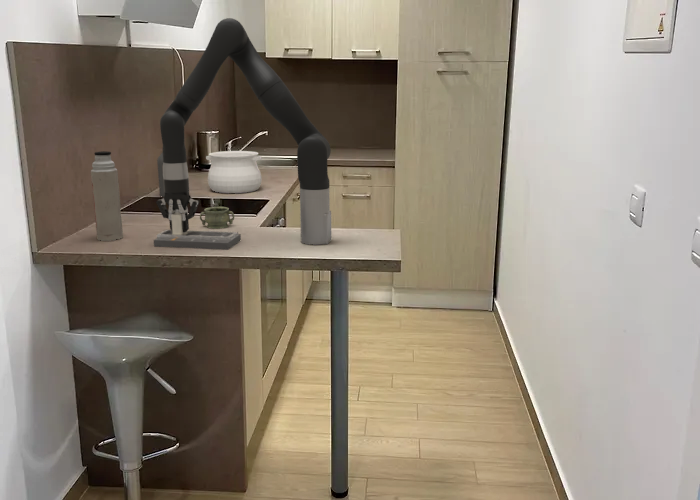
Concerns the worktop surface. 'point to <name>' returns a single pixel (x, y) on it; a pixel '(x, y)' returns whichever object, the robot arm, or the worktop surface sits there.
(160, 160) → the liquor
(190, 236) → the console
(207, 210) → the vessel
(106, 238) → the thermos bottle
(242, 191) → the pot
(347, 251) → the worktop surface
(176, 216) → the block
